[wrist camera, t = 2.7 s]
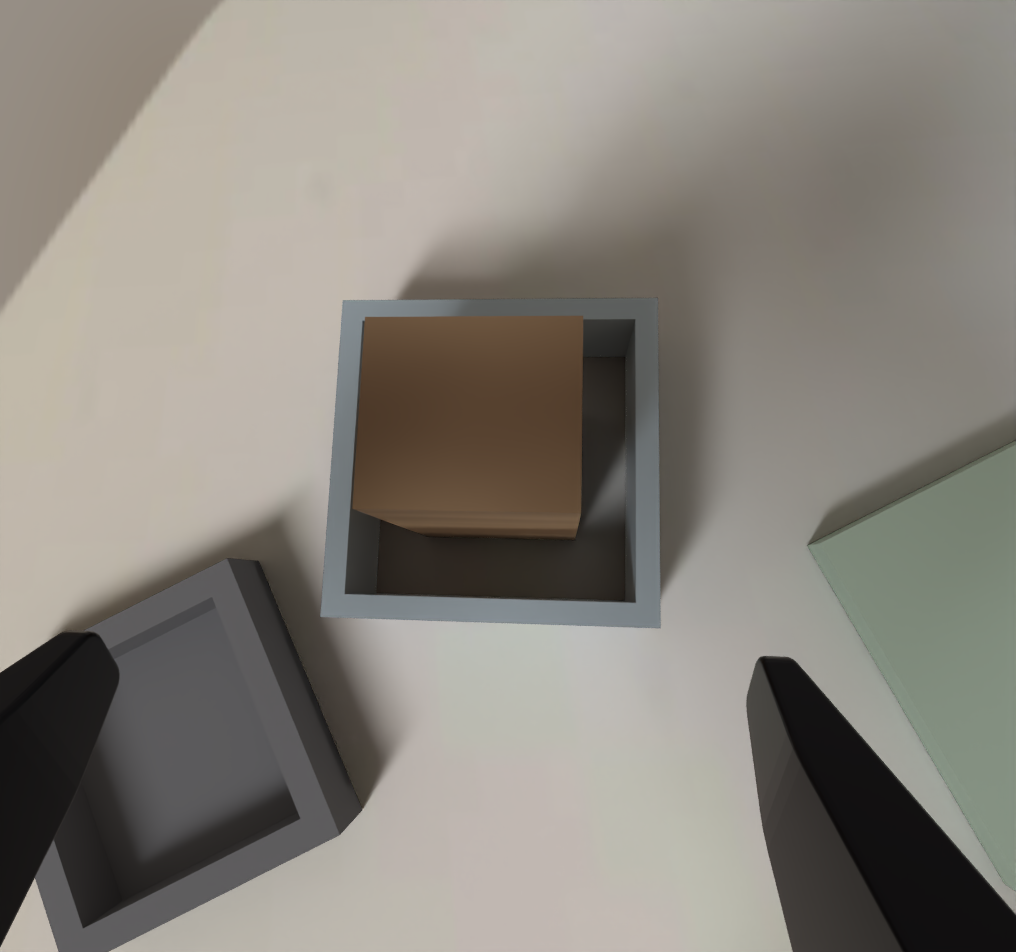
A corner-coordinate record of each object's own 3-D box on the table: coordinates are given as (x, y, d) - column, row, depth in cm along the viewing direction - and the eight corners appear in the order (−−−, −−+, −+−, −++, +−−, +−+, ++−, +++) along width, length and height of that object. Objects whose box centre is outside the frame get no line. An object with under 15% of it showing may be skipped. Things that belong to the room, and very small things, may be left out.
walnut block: (575, 540, 20) (580, 512, 13) (427, 536, 21) (352, 508, 13) (576, 411, 21) (583, 315, 14) (433, 410, 21) (364, 316, 14)
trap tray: (115, 934, 20) (65, 972, 18) (28, 676, 21) (-27, 686, 19) (362, 809, 20) (339, 835, 18) (258, 560, 21) (227, 558, 19)
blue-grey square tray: (646, 622, 20) (660, 628, 17) (355, 612, 20) (320, 616, 18) (645, 338, 21) (657, 297, 18) (372, 339, 22) (342, 300, 19)
